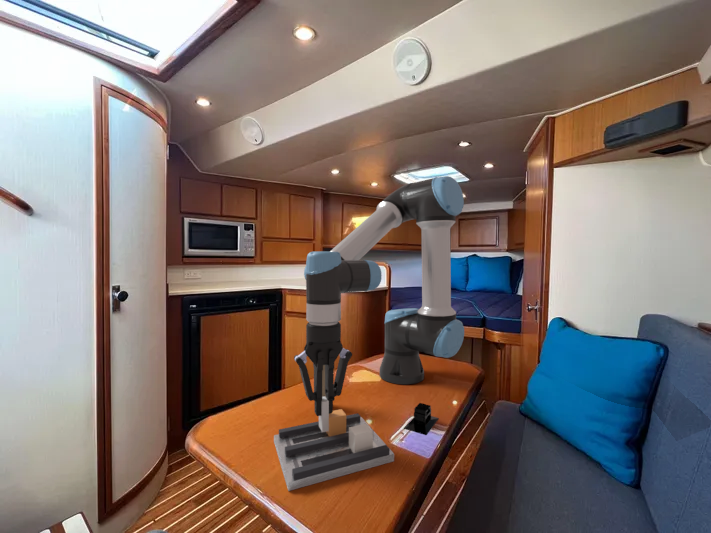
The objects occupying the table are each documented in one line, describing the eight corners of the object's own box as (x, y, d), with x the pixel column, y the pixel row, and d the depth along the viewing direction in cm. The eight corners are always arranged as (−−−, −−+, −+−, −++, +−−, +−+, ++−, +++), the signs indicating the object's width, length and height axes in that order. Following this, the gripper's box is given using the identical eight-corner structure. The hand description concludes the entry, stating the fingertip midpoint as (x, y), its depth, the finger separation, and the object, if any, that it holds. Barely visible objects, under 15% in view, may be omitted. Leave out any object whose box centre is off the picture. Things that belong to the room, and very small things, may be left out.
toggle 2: (366, 442, 67) (366, 423, 67) (372, 450, 64) (372, 430, 64) (348, 446, 65) (348, 427, 65) (354, 454, 63) (354, 434, 62)
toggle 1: (341, 426, 73) (341, 409, 73) (346, 432, 70) (346, 415, 70) (324, 429, 72) (324, 412, 72) (329, 436, 69) (329, 418, 69)
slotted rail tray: (358, 418, 77) (358, 413, 77) (389, 454, 63) (389, 448, 63) (278, 434, 70) (278, 429, 70) (293, 480, 55) (294, 473, 55)
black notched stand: (427, 442, 71) (427, 421, 71) (397, 432, 75) (397, 412, 75) (444, 418, 81) (444, 401, 81) (417, 411, 85) (417, 394, 85)
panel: (361, 422, 78) (361, 416, 78) (394, 461, 63) (394, 453, 63) (273, 441, 70) (273, 434, 70) (288, 491, 55) (288, 482, 55)
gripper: (345, 316, 75) (345, 415, 76) (290, 321, 70) (290, 426, 71) (357, 322, 68) (357, 430, 69) (297, 327, 63) (298, 444, 64)
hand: (323, 428), depth 70 cm, fingers closed
